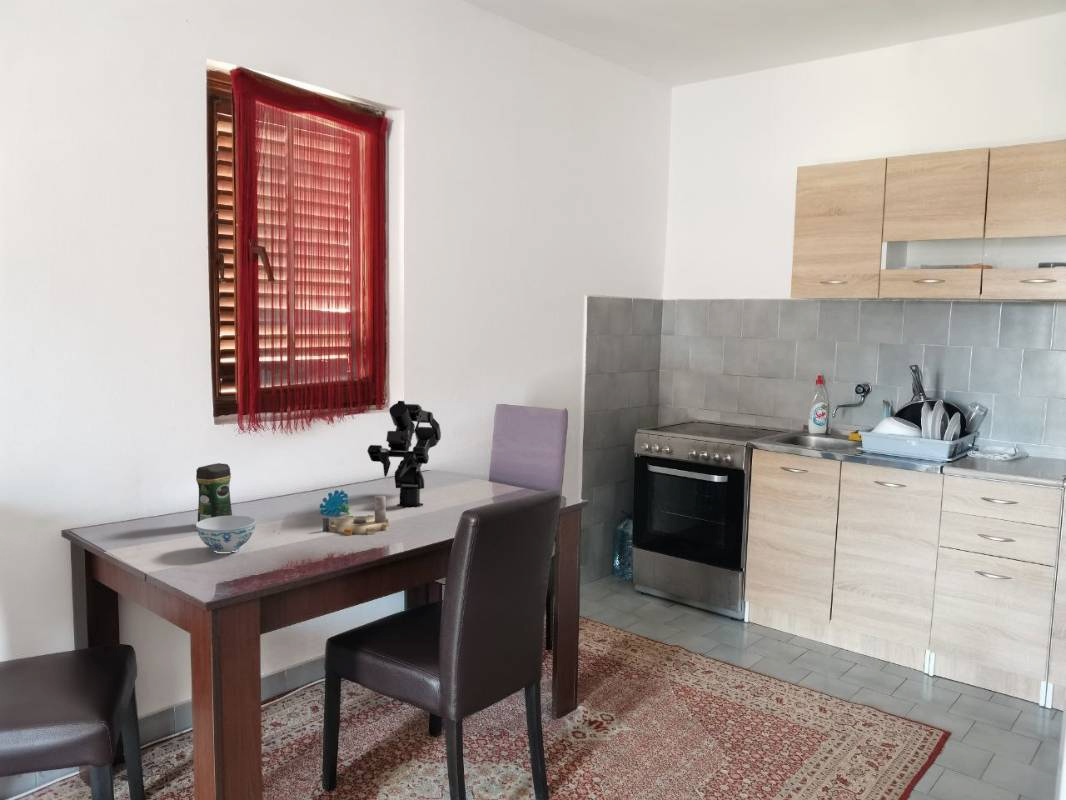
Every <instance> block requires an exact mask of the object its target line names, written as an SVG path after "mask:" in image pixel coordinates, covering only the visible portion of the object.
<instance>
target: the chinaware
mask: <svg viewBox="0 0 1066 800" xmlns="http://www.w3.org/2000/svg"><path fill="white" fill-rule="evenodd" d="M256 521H257V520H256V519H255V517H250V516H248V515H247V516H246V515H232V516H220V517H213V518H208V519H204V520H201V521H199V522H198V521H197V522H196V523H195V528H196V532H197V535H198V536H199V538H200V540H201V541H202V542H203V544H204V545H206V546H207V547H209V548H210V549H212V550H214V551H217V552H232V551H236V550H239V549H240V550H241V547H243V545H245V544H246V543H247V542H248V541H249V540H250V539H251V537H252V535H253V533H254V531H255V527H256V523H257V522H256ZM240 550H239V551H240Z"/></svg>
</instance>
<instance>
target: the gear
mask: <svg viewBox="0 0 1066 800" xmlns="http://www.w3.org/2000/svg"><path fill="white" fill-rule="evenodd" d="M327 496H328V498H327V497H323V498H322V503H320V504H319V508H321V509H319V513H320V514H323V517H327V516H328V517H334V515H335V514H336V516H339V515H341V513H344V514H347V515H351V512H349V511H350V509H351V508H350V506H349V505H347V504H348V503H349V502H350V501H349V499H348V498H349V494H348V493H346V492H345V491H344V490H343V489H342V490H340V491H339V490H338V489H337V490H336V489H335V490H334V492H333V493H332V492H329V493H327ZM323 502H324V503H325V504H324V503H323ZM343 503H345V504H346V505H344V504H343Z"/></svg>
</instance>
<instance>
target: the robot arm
mask: <svg viewBox="0 0 1066 800" xmlns="http://www.w3.org/2000/svg"><path fill="white" fill-rule="evenodd" d="M388 410H389V411H388V412H389V415H390V417H391V420H392V422H393V425H394V427H395V430H387V432H386V439H385V441H386V442H387V445H388V448H390V449H388V448H386V447H383V446H382V444H380V445H379V444H371V445H369V446H368V448H367V453H368V456H369V458H370V461H372V462H377V463H378V462H380V463H381V464H382V466H383V475H384V477H387V476H388V474H389V470H390V467H391V460H390V458H402V460H400V462H399V464H398V465H397V469H396V470H395V472H394V484H395V489H399V503H397V504H396V506H397V507H400V506H402V507H401V508H406V507H407V508H406V509H408V508H409V509H410V508H412V507H414V508H417V507H416V506H418V507H421V506H424V503H422V502H420V499H421V498H420V497H421V496H420V495H421V489H422V490H423V489H425V477H424V476H423V473H422V468H421V467H422V466H423V465H427V464H428V463H429V459H430V457H429V450H430V449H431V448H433V447H435V446H437V445H438V443H439V441H441V438H442V431H441V427H440V424H439V422H437V420H436V419H435V418H434V413H433V412H431V411H426V410H424V409H423V408H422V406H421V405H420V404H418V403H417V404H415V403H405V401H404V400H397V403H394V404H393V405H392V406H390V407H389V409H388ZM414 422H415V423H416V422H417V423H416V425H415V423H414ZM421 423H423V424H424V423H425V424H426V423H427V424H429V425H430V426H419V425H420V424H421ZM414 434H415V438H416V443H415V445H414V446H413V447H412V439H413V436H414ZM410 447H412V450H410ZM420 505H421V506H420Z"/></svg>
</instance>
